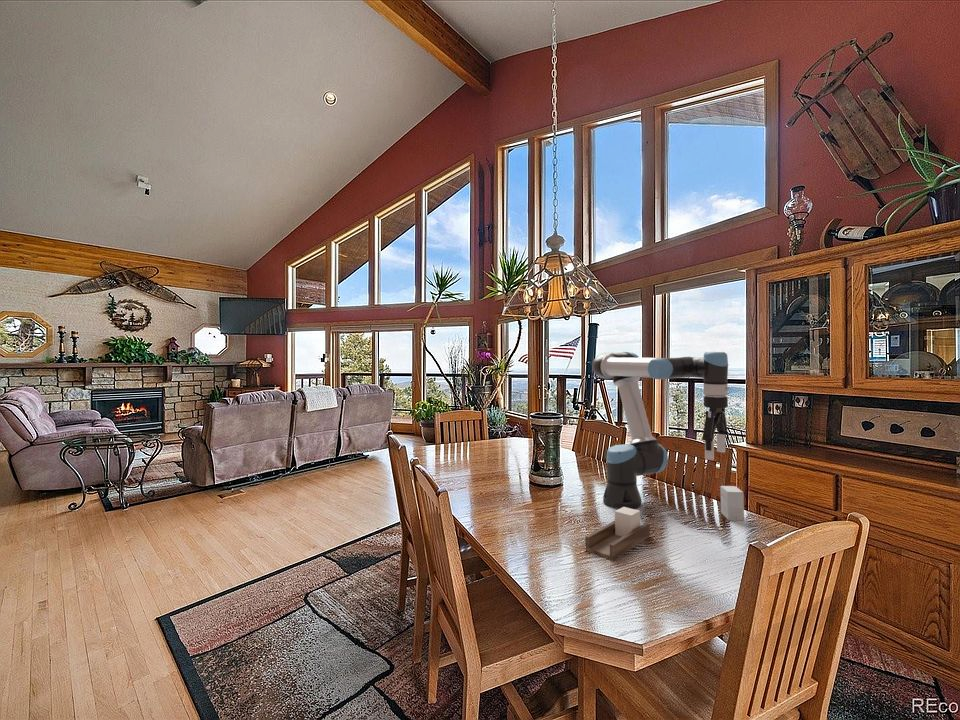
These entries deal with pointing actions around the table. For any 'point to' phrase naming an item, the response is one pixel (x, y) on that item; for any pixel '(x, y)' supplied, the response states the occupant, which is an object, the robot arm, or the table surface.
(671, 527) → the table surface
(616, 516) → the block
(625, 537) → the chute
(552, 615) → the table surface
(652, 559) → the table surface
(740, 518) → the small box
